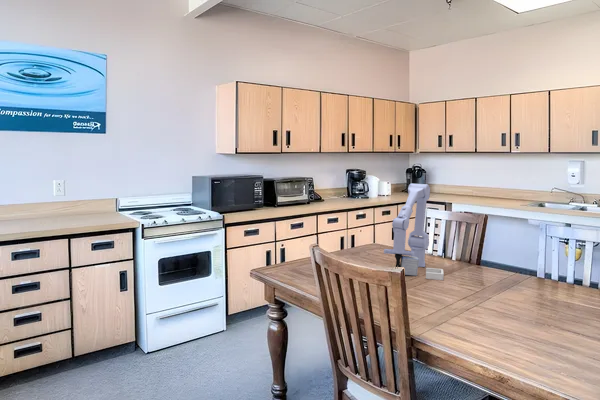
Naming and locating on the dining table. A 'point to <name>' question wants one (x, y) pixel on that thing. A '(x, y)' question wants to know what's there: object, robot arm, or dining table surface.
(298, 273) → the dining table surface
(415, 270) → the medicine box
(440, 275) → the dock
